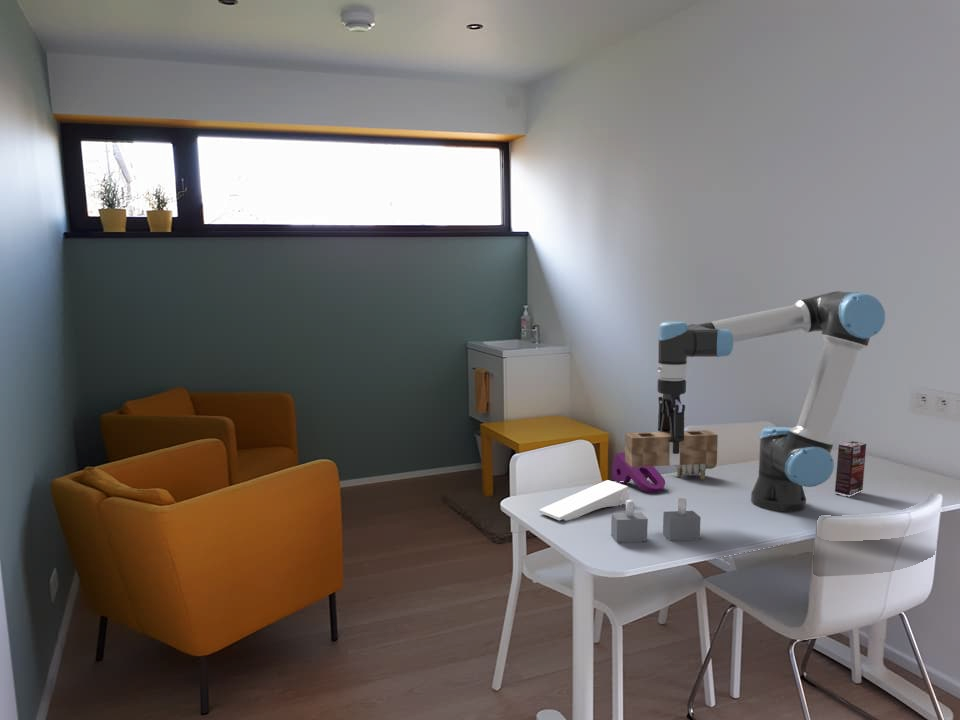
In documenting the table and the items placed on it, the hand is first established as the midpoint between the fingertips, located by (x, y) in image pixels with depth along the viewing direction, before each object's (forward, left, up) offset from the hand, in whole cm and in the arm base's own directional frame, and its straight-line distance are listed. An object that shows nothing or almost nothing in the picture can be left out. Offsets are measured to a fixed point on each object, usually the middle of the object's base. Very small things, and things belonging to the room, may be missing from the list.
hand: (669, 461), depth 199 cm
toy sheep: (-23, -40, -17) cm, 49 cm away
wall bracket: (+21, -11, -17) cm, 29 cm away
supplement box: (-65, -17, -17) cm, 69 cm away
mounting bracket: (-3, -32, -17) cm, 36 cm away
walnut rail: (0, 0, 0) cm, 0 cm away
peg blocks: (+8, +13, -17) cm, 23 cm away
